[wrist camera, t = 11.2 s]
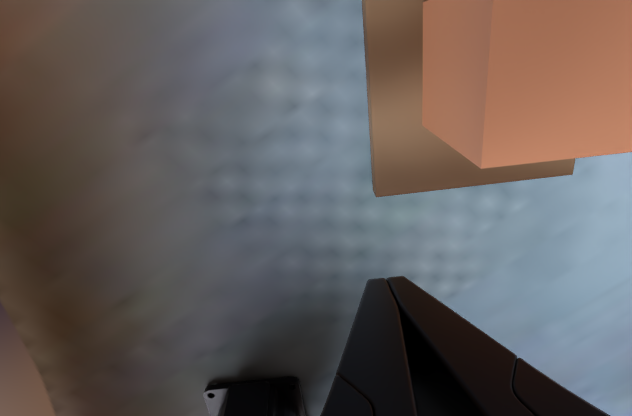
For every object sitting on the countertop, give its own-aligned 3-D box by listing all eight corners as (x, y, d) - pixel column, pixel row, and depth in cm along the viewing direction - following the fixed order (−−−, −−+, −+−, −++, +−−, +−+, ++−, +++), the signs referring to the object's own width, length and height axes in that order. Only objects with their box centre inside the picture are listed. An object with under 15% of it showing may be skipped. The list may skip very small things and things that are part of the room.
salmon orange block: (532, 112, 18) (647, 149, 12) (422, 125, 18) (480, 168, 12) (547, -13, 16) (697, -46, 10) (422, 1, 16) (494, -21, 10)
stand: (560, 168, 20) (679, 228, 14) (373, 190, 20) (403, 259, 14) (604, -115, 15) (820, -226, 9) (357, -82, 15) (393, -167, 9)
